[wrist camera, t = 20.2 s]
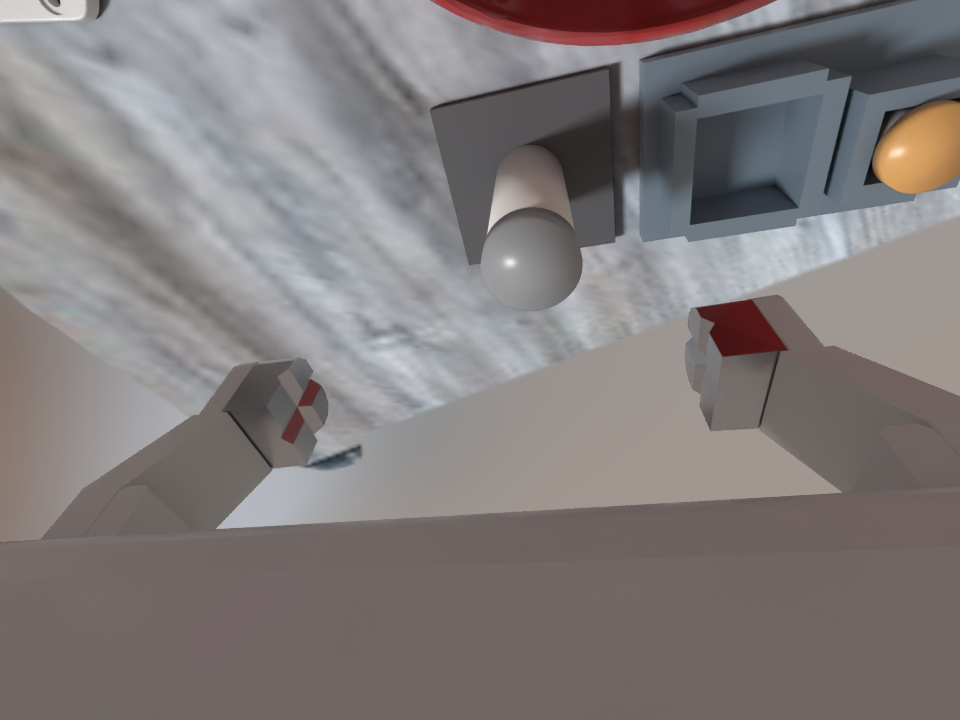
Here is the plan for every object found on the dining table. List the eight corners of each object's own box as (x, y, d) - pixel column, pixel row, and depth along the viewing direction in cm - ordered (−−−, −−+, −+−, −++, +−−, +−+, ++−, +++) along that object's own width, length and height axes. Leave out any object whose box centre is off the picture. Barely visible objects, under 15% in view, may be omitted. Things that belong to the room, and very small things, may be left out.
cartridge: (501, 220, 36) (491, 317, 26) (488, 151, 33) (470, 230, 23) (568, 207, 35) (586, 303, 25) (560, 135, 32) (577, 210, 22)
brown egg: (821, 165, 31) (873, 200, 26) (838, 91, 28) (900, 115, 23) (897, 152, 30) (966, 185, 25) (923, 74, 27) (1005, 95, 22)
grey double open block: (639, 233, 37) (656, 274, 32) (639, 59, 30) (660, 76, 25) (900, 192, 33) (965, 231, 28) (974, -18, 26) (1078, -17, 21)
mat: (470, 260, 40) (469, 264, 39) (431, 107, 32) (429, 110, 32) (613, 237, 37) (615, 242, 37) (607, 67, 30) (609, 69, 29)
